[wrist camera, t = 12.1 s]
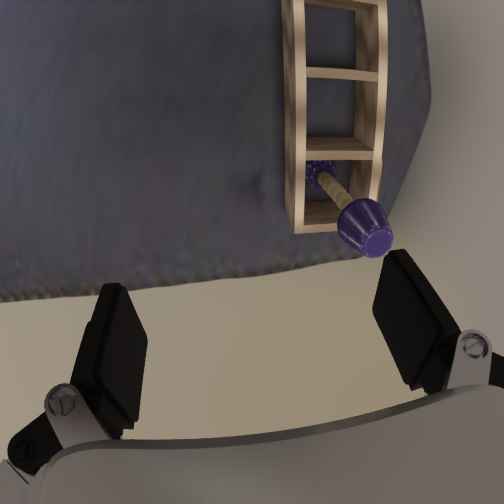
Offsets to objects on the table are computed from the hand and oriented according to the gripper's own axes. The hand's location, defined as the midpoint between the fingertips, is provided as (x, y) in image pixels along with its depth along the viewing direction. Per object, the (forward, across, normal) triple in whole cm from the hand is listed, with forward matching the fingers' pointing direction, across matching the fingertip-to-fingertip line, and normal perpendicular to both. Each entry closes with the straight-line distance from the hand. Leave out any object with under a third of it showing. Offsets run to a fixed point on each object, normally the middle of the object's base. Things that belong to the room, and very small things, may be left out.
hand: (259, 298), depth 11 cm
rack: (+28, -11, -1) cm, 30 cm away
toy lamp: (+28, -11, +7) cm, 31 cm away
